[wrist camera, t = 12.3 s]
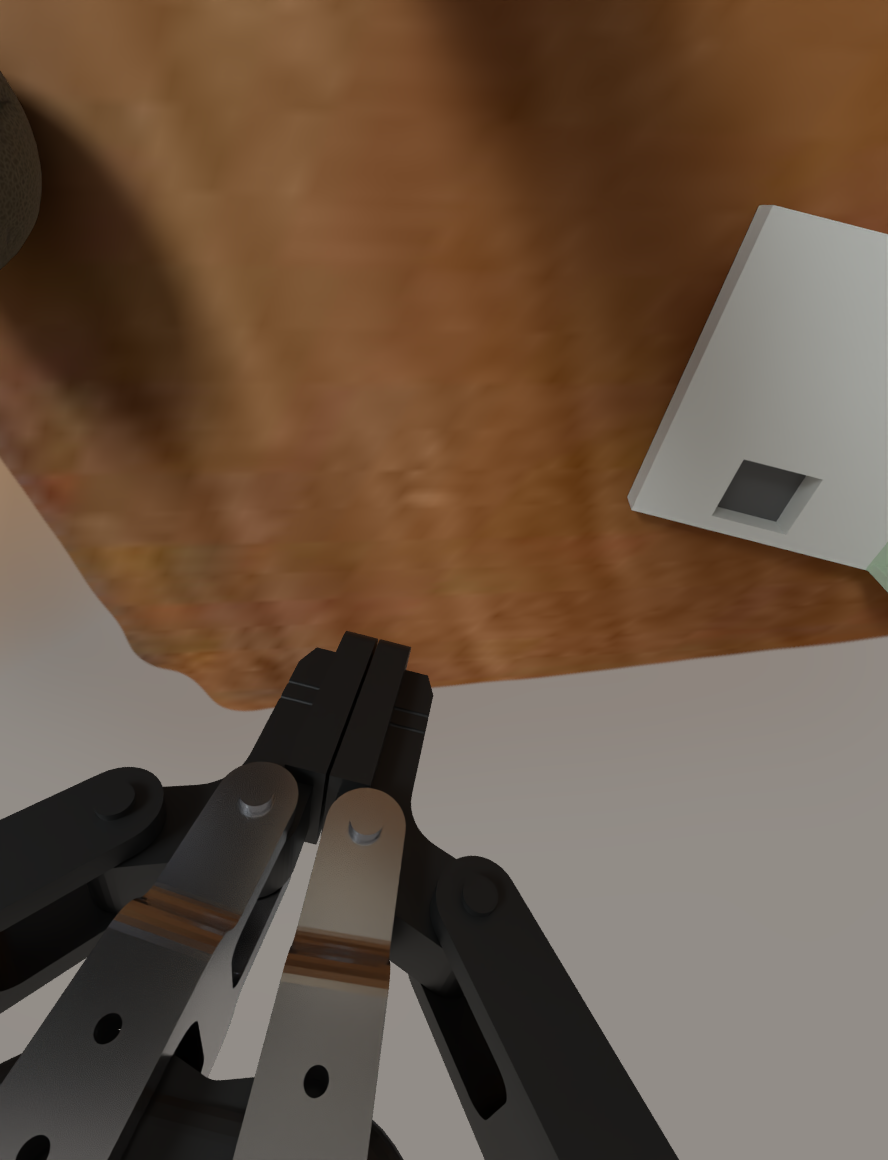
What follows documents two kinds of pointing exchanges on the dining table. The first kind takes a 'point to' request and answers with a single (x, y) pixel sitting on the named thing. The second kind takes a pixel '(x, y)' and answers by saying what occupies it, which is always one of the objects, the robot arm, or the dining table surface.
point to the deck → (786, 399)
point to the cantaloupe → (16, 175)
